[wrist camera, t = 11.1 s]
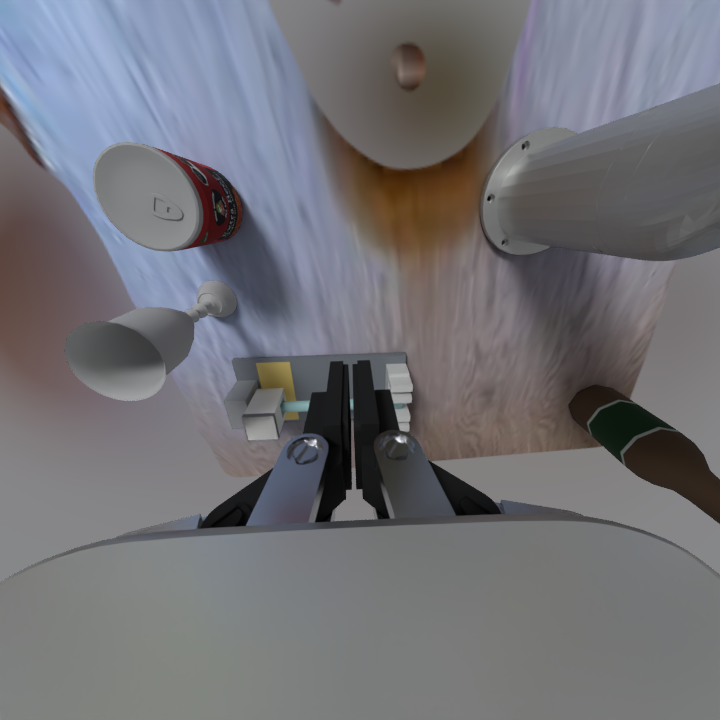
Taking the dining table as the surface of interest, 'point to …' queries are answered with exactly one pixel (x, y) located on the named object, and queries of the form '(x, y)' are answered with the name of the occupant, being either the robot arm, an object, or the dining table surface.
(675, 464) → the beer bottle
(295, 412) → the cable rig
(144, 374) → the chalice
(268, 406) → the sleeve
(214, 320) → the dining table surface
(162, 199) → the canned food
